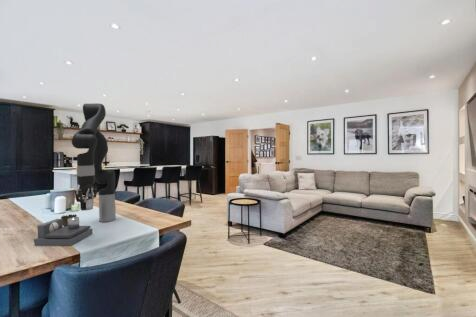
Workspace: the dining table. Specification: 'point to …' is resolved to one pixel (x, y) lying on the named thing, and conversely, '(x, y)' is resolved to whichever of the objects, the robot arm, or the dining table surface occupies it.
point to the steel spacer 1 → (73, 223)
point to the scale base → (53, 226)
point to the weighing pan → (66, 232)
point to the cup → (64, 219)
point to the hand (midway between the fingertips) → (87, 208)
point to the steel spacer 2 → (89, 203)
